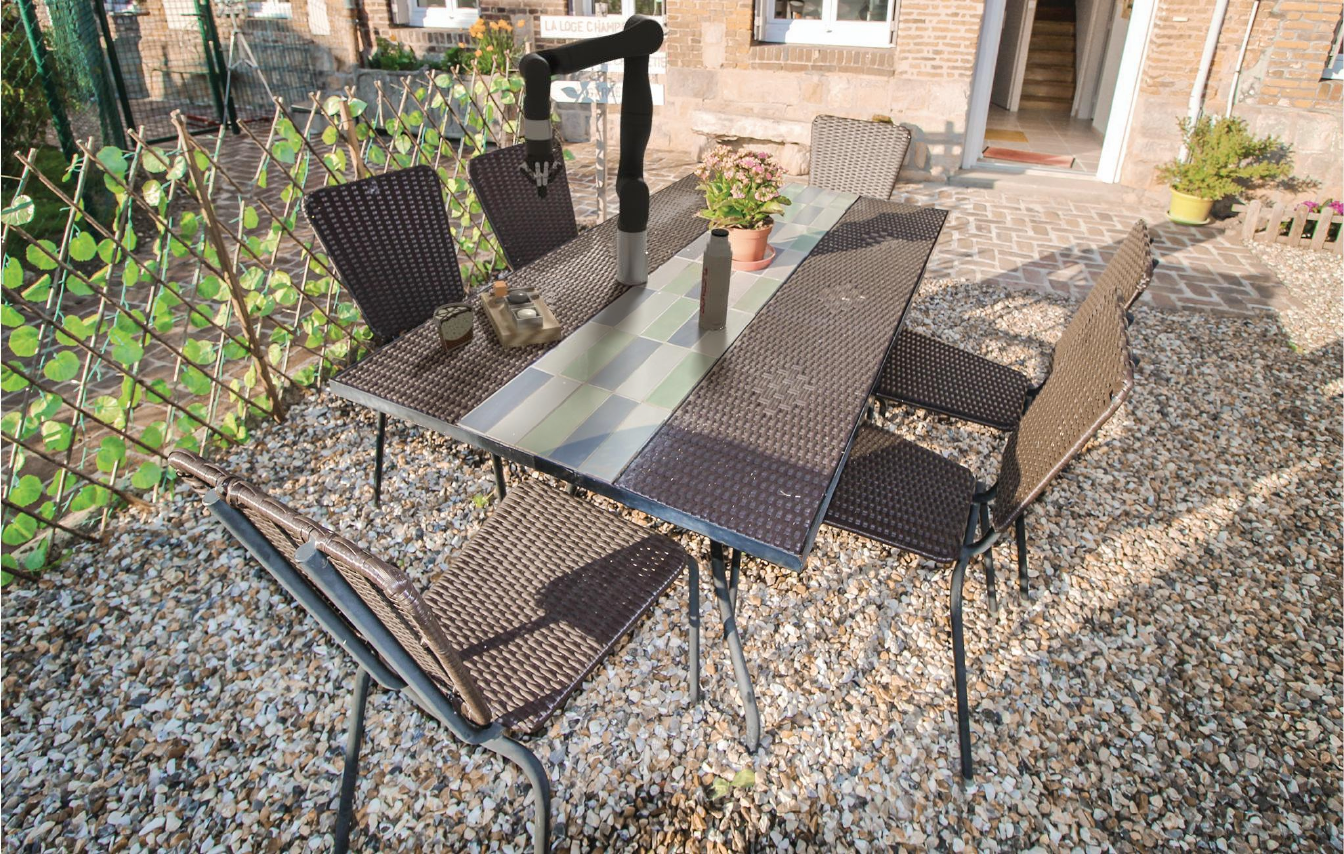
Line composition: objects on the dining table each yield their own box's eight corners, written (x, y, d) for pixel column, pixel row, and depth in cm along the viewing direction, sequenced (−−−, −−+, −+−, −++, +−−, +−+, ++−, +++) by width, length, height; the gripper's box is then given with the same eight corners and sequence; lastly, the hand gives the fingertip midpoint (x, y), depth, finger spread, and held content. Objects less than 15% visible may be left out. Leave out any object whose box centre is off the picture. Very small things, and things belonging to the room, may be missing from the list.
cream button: (533, 313, 205) (533, 307, 204) (538, 321, 201) (538, 315, 200) (515, 316, 203) (515, 310, 202) (520, 324, 199) (519, 318, 198)
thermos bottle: (700, 330, 212) (707, 235, 197) (697, 318, 219) (703, 225, 203) (727, 330, 213) (736, 236, 197) (723, 318, 220) (732, 226, 204)
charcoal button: (524, 295, 211) (524, 289, 210) (529, 302, 207) (529, 296, 206) (507, 297, 209) (507, 291, 208) (511, 304, 205) (511, 298, 204)
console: (534, 298, 225) (533, 277, 221) (561, 339, 204) (560, 316, 200) (481, 305, 219) (479, 283, 215) (503, 348, 198) (501, 325, 194)
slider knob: (504, 293, 217) (503, 280, 215) (507, 299, 214) (506, 286, 212) (494, 294, 216) (493, 282, 214) (497, 300, 213) (496, 287, 211)
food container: (462, 330, 206) (458, 297, 200) (477, 337, 203) (474, 304, 197) (427, 347, 197) (421, 313, 192) (442, 354, 195) (437, 320, 189)
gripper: (557, 130, 209) (560, 192, 218) (511, 133, 204) (516, 196, 214) (565, 137, 203) (567, 200, 213) (518, 140, 198) (522, 204, 208)
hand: (541, 198), depth 213 cm, fingers closed
